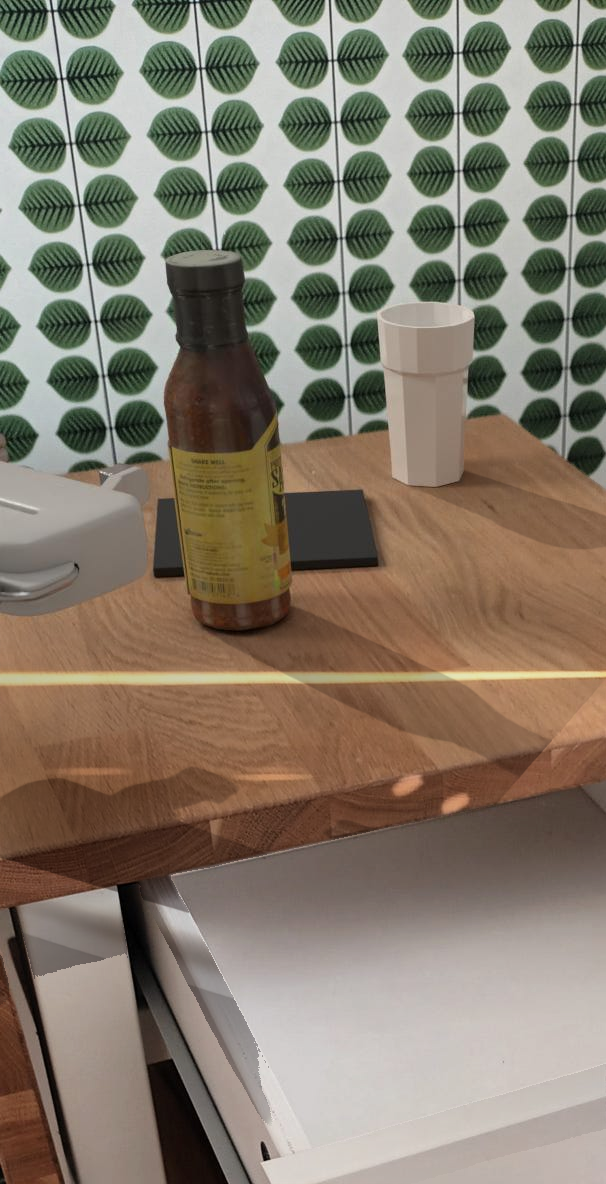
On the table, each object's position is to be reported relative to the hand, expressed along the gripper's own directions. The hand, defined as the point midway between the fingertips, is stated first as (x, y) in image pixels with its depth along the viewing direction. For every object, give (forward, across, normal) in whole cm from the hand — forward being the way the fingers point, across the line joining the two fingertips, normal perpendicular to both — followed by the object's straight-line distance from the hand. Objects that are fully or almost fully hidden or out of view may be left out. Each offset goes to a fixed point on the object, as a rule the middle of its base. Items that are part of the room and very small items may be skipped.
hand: (65, 462), depth 77 cm
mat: (+22, +6, +12) cm, 26 cm away
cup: (+37, +3, +13) cm, 40 cm away
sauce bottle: (+12, 0, +13) cm, 17 cm away
